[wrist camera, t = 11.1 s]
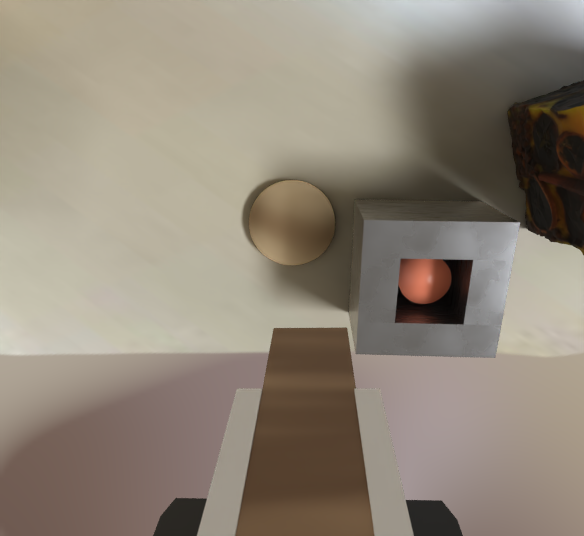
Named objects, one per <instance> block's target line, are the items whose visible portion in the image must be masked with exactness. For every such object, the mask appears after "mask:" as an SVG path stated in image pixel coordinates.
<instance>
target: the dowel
mask: <svg viewBox="0 0 584 536" xmlns="http://www.w3.org/2000/svg"><path fill="white" fill-rule="evenodd" d="M354 389H356V387H355V380H354V373H353V366H352V359H351V352H350V345H349V338H348V332H347V328H274V330H273V335H272V340H271V346H270V351H269V357H268V362H267V368H266V373H265V378H264V385H263V389H262V395H261V400H260V406H259V411H258V416H257V422H256V427H255V433H254V438H253V444H252V449H251V454H250V460H249V465H248V471H247V476H246V482H245V487H244V492H243V498H242V503H241V509H240V514H239V519H238V525H237V530H236V536H374V529H373V521H372V514H371V507H370V500H369V493H368V485H367V478H366V471H365V464H364V457H363V449H362V442H361V435H360V428H359V420H358V413H357V406H356V399H355V392H354Z"/></svg>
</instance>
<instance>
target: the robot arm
mask: <svg viewBox="0 0 584 536" xmlns="http://www.w3.org/2000/svg"><path fill="white" fill-rule="evenodd" d="M354 392H355V399H356V406H357V413H358V420H359V428H360V435H361V442H362V449H363V457H364V464H365V471H366V478H367V485H368V493H369V500H370V507H371V514H372V521H373V529H374V536H463V535H462V532H461V530H460V527H459V524H458V521H457V519H456V518H455V517H454V515H453V514H452V513H451V512H450V511H449V509H448V508H447V507H446V506H445V504H444V503H443V502H442V501H431V500H430V501H429V500H428V501H427V500H405V496H404V491H403V487H402V483H401V478H400V474H399V470H398V465H397V461H396V456H395V452H394V448H393V444H392V439H391V435H390V430H389V426H388V422H387V417H386V413H385V408H384V405H383V400H382V395H381V391H380V389H354ZM261 395H262V389H237V391H236V395H235V398H234V402H233V406H232V409H231V413H230V416H229V420H228V424H227V427H226V431H225V435H224V438H223V442H222V446H221V449H220V453H219V457H218V461H217V465H216V468H215V472H214V475H213V479H212V482H211V486H210V490H209V494H208V497H207V499H196V498H192V499H189V498H176V499H175V500H174V501H173V502H172V503H171V504H170V506H169V507H168V508H167V509H166V510H165V512H164V513H163V514H162V515H161V517H160V519H159V522H158V524H157V527H156V530H155V532H154V535H153V536H236V530H237V525H238V519H239V514H240V509H241V503H242V498H243V492H244V487H245V482H246V476H247V471H248V465H249V460H250V454H251V449H252V444H253V438H254V433H255V427H256V422H257V416H258V411H259V406H260V400H261Z"/></svg>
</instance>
